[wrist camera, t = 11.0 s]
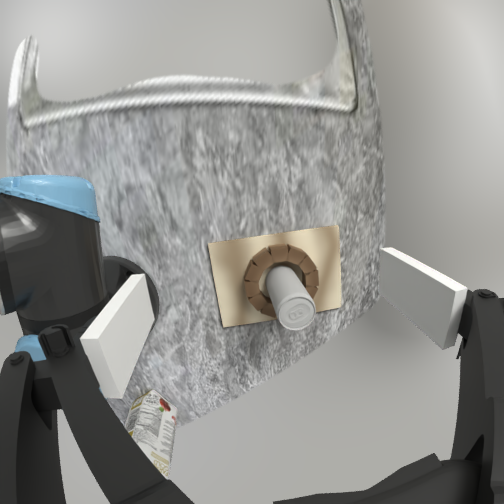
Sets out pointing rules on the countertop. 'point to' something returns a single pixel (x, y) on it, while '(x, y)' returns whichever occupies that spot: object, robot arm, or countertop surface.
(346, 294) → the countertop surface
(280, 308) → the beverage can
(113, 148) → the countertop surface
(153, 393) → the juice carton
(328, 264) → the collar board
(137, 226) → the countertop surface
